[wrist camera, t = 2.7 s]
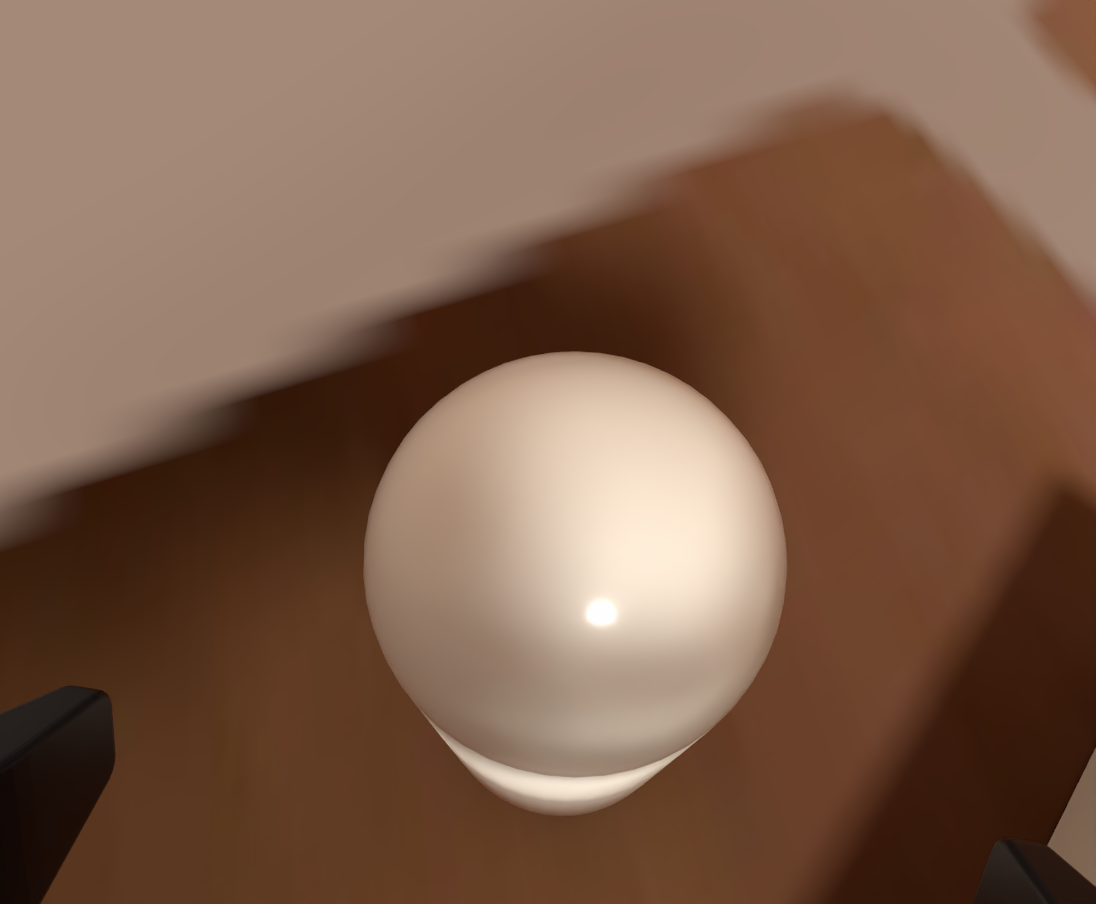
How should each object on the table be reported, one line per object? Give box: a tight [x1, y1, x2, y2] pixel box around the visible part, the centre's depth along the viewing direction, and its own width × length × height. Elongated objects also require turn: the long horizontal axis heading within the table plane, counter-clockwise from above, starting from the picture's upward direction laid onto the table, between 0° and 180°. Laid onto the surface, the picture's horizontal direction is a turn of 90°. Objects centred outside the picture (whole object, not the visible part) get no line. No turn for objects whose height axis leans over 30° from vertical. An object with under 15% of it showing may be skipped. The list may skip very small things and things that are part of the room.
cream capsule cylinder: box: [364, 351, 787, 816], centre depth 14 cm, size 5×5×12 cm
